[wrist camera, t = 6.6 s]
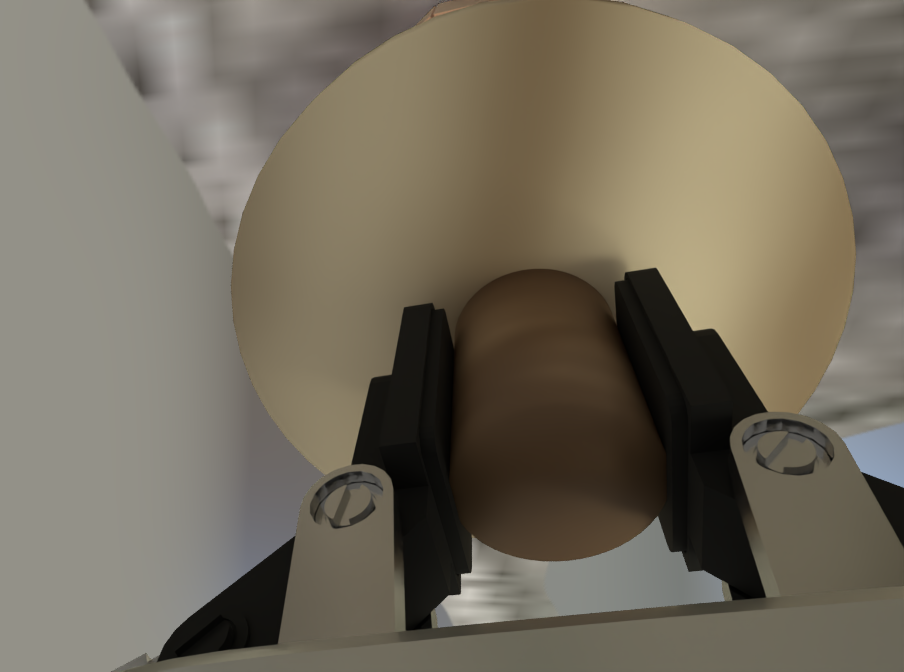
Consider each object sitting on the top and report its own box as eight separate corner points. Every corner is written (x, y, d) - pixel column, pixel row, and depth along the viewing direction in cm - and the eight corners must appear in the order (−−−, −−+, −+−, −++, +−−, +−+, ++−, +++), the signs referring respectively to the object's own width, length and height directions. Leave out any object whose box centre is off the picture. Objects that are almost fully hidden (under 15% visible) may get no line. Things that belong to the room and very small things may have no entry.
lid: (865, -85, 10) (1205, -110, 5) (795, 474, 16) (921, 678, 11) (148, 78, 11) (-63, 166, 7) (343, 528, 17) (301, 727, 13)
